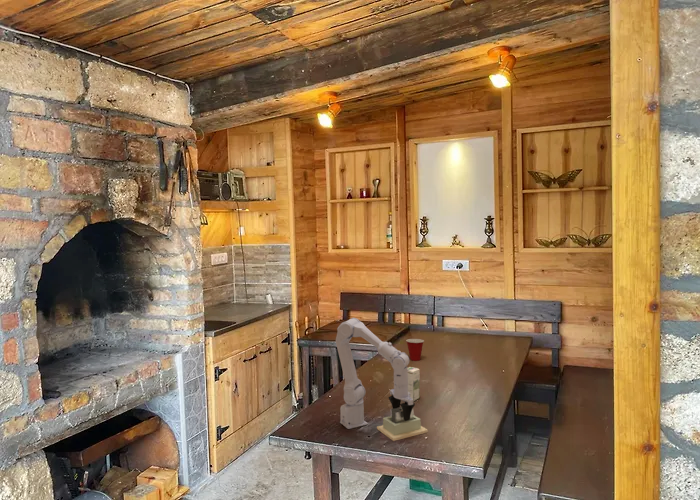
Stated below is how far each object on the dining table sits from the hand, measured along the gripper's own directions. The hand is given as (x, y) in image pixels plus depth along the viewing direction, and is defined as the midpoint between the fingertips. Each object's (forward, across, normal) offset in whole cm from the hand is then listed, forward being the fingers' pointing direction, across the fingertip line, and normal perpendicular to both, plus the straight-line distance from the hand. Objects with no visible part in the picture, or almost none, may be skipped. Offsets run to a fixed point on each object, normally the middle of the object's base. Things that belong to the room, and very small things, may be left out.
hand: (401, 416), depth 211 cm
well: (+6, 0, 0) cm, 6 cm away
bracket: (+5, 0, 0) cm, 5 cm away
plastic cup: (+6, +82, -61) cm, 102 cm away
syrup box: (+6, +28, -23) cm, 37 cm away
